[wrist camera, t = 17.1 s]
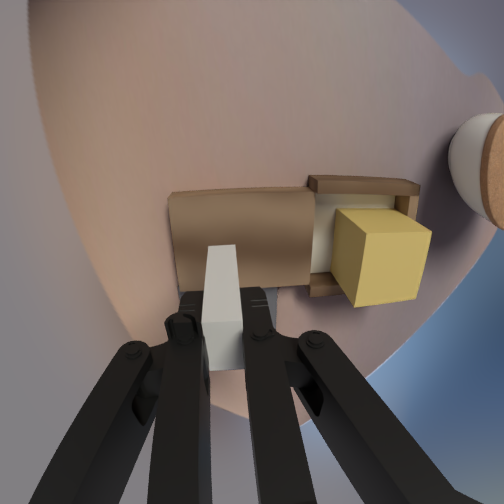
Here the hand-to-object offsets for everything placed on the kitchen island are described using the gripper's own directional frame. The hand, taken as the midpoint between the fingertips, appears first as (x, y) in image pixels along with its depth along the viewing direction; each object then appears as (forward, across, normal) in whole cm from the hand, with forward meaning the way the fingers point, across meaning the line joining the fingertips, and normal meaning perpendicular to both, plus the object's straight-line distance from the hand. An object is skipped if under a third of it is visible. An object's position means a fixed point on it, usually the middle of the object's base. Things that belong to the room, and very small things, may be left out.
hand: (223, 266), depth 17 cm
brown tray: (+8, +7, -2) cm, 11 cm away
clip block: (+5, +12, -2) cm, 14 cm away
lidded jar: (+8, +25, +6) cm, 27 cm away
